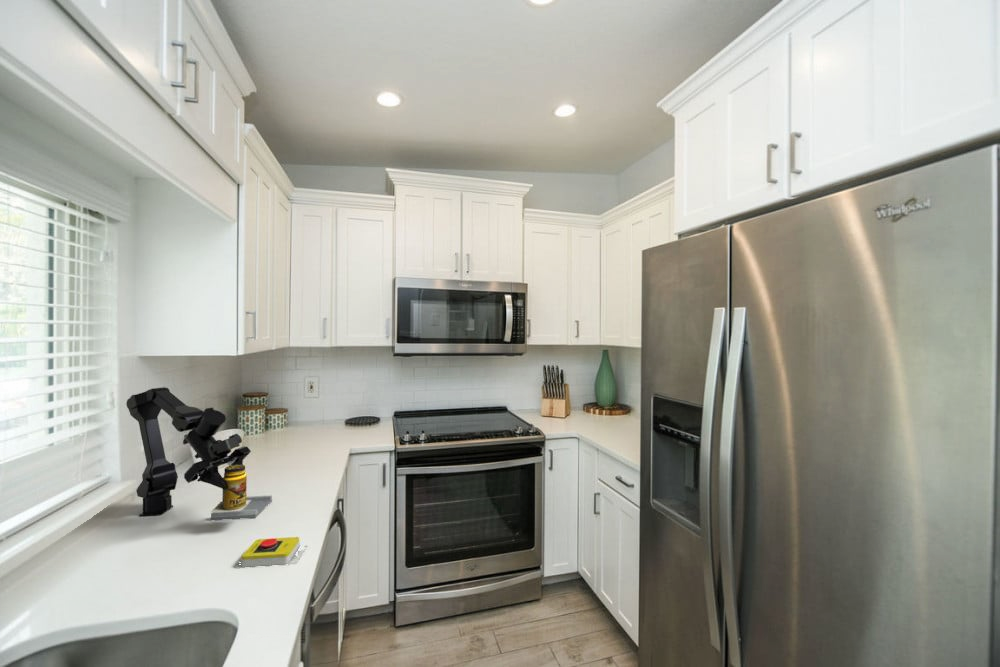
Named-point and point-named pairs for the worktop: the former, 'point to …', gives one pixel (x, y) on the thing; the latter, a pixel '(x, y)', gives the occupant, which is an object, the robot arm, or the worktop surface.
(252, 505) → the mounting plate
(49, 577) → the worktop surface
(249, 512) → the guide rails
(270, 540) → the emergency button
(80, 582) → the worktop surface
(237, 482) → the condiment
